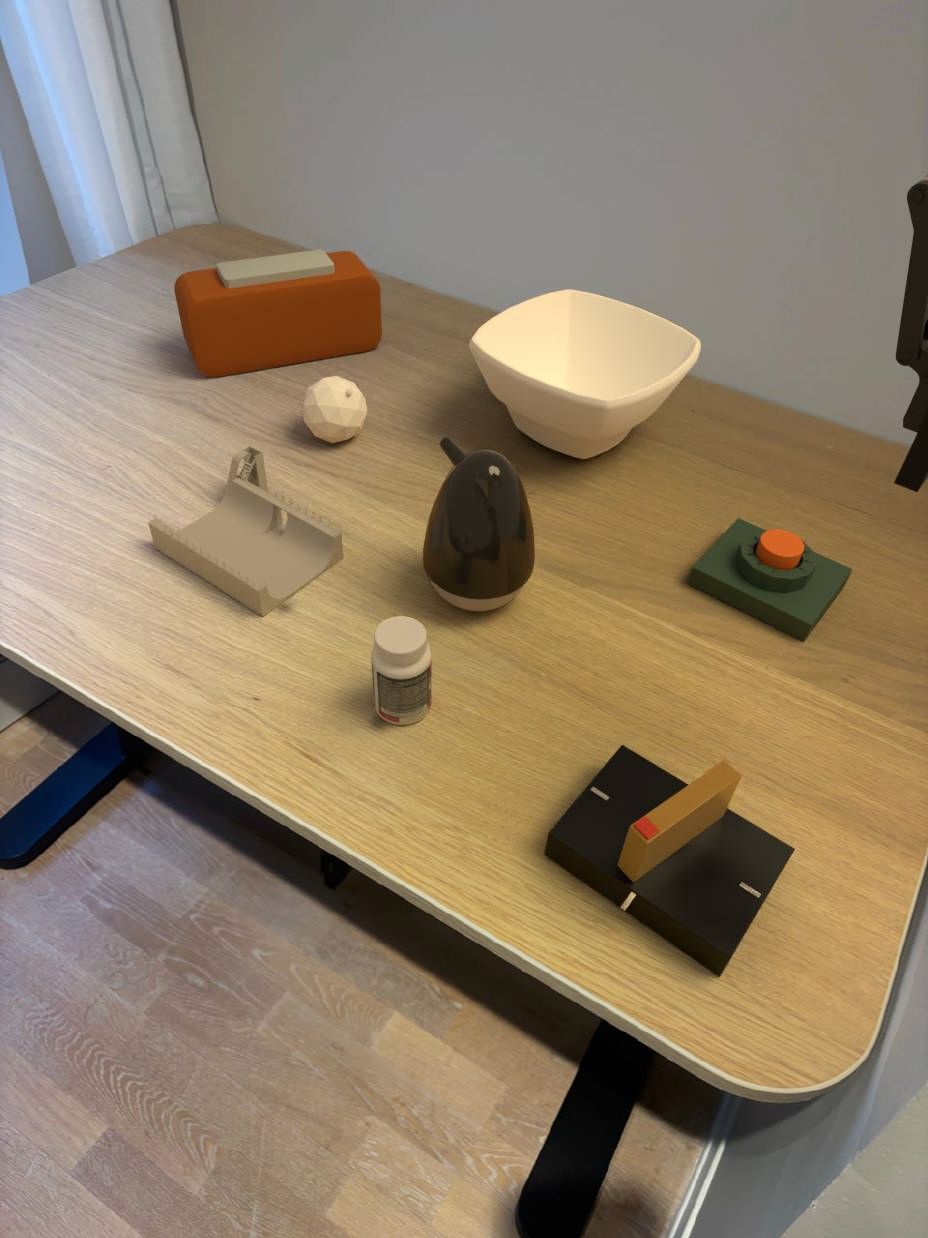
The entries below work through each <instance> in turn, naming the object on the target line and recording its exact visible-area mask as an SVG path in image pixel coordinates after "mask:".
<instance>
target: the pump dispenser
mask: <svg viewBox="0 0 928 1238" xmlns="http://www.w3.org/2000/svg"><path fill="white" fill-rule="evenodd" d="M439 447H440V448H441V449H442V451H443V452H444V454H445V455H446V457H447V458H448V460H449V461H450V463H451V464H452V465H453V466H452V467H451V469H450V470H449V471H448V473H447V475H446V476H445V478H444V480H443V482H442V484H441V486H440V488H439V490H438V492H437V495H436V497H435V499H434V502H433V505H432V508H431V511H430V514H429V517H428V521H427V525H426V529H425V534H424V540H423V547H422V566H423V569H424V572H425V574H426V575H427V577H428V578H429V580H430V583H431V585H432V586H433V588H434V589H435V591H436V592H437V594H438V595H439V596H440V597H441V598H442V599H443V600H445V601H446V602H447V603H449V604H450V605H452V606H454V607H456V608H459V609H462V610H466V611H471V612H487V611H492V610H496V609H498V608H501V607H503V606H505V605H506V604H508V603H509V602H511V601H512V600H514V599H515V598H516V597H517V595H519V594H520V592H521V591H522V589H523V588H524V586H525V585H526V584H527V582H528V581H529V580H530V579H531V576H532V575H533V573H534V568H535V558H536V554H535V553H536V547H535V531H534V523H533V517H532V513H531V508H530V504H529V500H528V496H527V493H526V490H525V487H524V484H523V482H522V479H521V477H520V475H519V473H518V471H517V470H516V468H515V466H514V464H513V463H512V462H511V461H510V460H509V459H508V458H507V457H506V456H505V455H503V454H502V453H501V452H498V451H496V450H493V449H487V448H481V449H480V448H479V449H475V450H472V451H470V452H467V453H466V452H465V451H464V450H462V448H460V447H459V446H458V444H456V442H455V441H454V440H453V439H451V438H450V437H449V436H444V437H442V438H441V439H440V440H439Z"/></svg>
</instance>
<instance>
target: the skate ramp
mask: <svg viewBox="0 0 928 1238" xmlns="http://www.w3.org/2000/svg"><path fill="white" fill-rule="evenodd" d="M242 460H243V463H244V464H242V467H241V468H240V470H239V467H240V463H241V462H242ZM238 471H239V472H238ZM227 477H228V478H227V482H226V487H225V492H224V495H223V498H222V499H221V501H220V503H218V505H217V506H216V507H214V509H212V510H211V511H209V512H208V513H206V514H204V515H202V516H201V517H199V518H197V519H196V520H194V521H192V522H191V523H189V524H188V525H186V526H184V527H183V528H181V529H179V530H177V529H176V528H174V527H172V526H171V525H169V524H167V523H166V522H164V521H162V520H161V519H159V518H157V514H156V513H155V514H153V515H152V518H148V519H149V521H148V522H147V524H148V528H149V531H150V535H151V539H152V542H153V546H154V548H155V549H156V550H157V551H159V552H161V553H162V554H164V555H165V556H167V557H168V558H170V559H172V560H173V561H174V562H176V563H177V564H180V565H181V566H182V567H184V568H186V569H188V570H189V571H190V572H191V573H193V574H195V575H197V576H198V577H200V578H201V579H203V580H204V581H206V582H208V583H209V584H210V585H212V586H214V587H215V588H217V589H219V590H220V591H222V592H223V593H225V594H226V595H228V596H230V597H232V598H233V599H235V600H236V601H238V602H239V603H241V604H242V605H244V606H246V607H247V608H248V609H250V610H252V611H253V612H254V613H256V614H258V615H259V616H261V617H264V616H266V615H267V614H269V613H270V612H271V611H273V610H274V609H276V608H277V607H279V606H280V605H281V604H283V603H284V602H285V601H287V600H288V599H289V598H290V597H292V596H293V595H295V594H296V593H298V592H299V591H300V590H301V589H303V588H305V587H306V586H307V585H309V584H310V583H311V582H313V581H314V580H315V579H316V578H318V577H320V575H322V574H323V573H325V572H326V571H328V570H329V569H330V568H332V567H333V566H334V565H336V564H337V563H338V562H340V561H341V560H343V559H344V548H343V536H342V534H343V533H342V528H341V527H339V528H338V529H336V526H337V524H336V523H334V522H333V521H330V520H329V521H328V519H327V518H325V517H323V516H321V515H320V514H319V513H316V512H314V511H312V510H311V509H309V508H307V507H305V506H303V505H302V504H299V503H298V502H296V501H294V502H293V501H292V499H291V498H289V497H287V496H285V495H283V494H282V493H280V492H278V491H275V492H274V491H271V490H272V488H271V487H269V486H268V480H267V474H266V466H265V459H264V452H262V451H261V450H259V449H257V448H255V447H253V446H251V445H248V446H247V447H245V448H243V449H241V450H239V451H237V452H235V454H234V455H233V456H232V458H231V462H230V467H229V473H228V476H227ZM278 494H279V495H278ZM280 495H281V496H280ZM281 498H282V499H281ZM283 498H284V499H283ZM285 498H286V499H285ZM296 506H297V507H296ZM298 507H300V508H298ZM301 509H302V510H301ZM282 511H284V512H285V513H286V524H285V523H284V521H283V513H282ZM309 512H312V513H311V515H310V514H309ZM322 518H323V519H322ZM324 519H325V520H324ZM323 521H324V522H323ZM325 522H326V523H327V524H326V523H325ZM331 523H332V524H334V525H332V524H331Z"/></svg>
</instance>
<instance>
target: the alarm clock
mask: <svg viewBox="0 0 928 1238" xmlns="http://www.w3.org/2000/svg"><path fill="white" fill-rule="evenodd" d="M215 266H216V267H213V268H205V269H198V270H189V271H187V272H183V273H181V274H180V275H179V276H178V277H177V278H176V279H175V282H174V285H173V286H174V287H173V289H174V290H173V291H174V296H175V301H176V306H177V310H178V316H179V320H180V325H181V330H182V331H181V332H182V336H183V339H184V341H185V343H186V345H187V348H188V350H189V352H190V354H191V356H192V360H193V361H194V364H195V366H196V368H197V370H198V371H199V372H200V373H201V374H202V375H203V376H206V377H208V378H220V377H221V378H222V377H226V376H232V375H237V374H244V373H249V372H255V371H260V370H267V369H272V368H279V367H284V366H289V365H290V366H291V365H296V364H302V363H307V362H313V361H318V360H319V361H320V360H324V359H330V358H336V357H343V356H347V355H353V354H359V353H365V352H369V351H372V350H374V349H375V348H376V347H378V345H379V344H380V343H381V340H382V334H383V332H382V331H383V330H382V329H383V328H382V299H381V298H382V294H381V292H382V291H381V285H380V282H379V280H378V279H377V278H376V276H375V275H374V274H373V273H372V272H371V271H370V269H369V268H368V267H367V266H366V264H364V262H363V261H362V260H361V259H360V257H359V256H358V255H357V254H356V253H354V252H353V251H351V250H338V251H332V252H326V251H325V250H324V249H321V248H320V249H313V250H305V251H298V252H290V253H282V254H276V255H267V256H261V257H253V258H246V259H239V260H237V259H236V260H231V261H222V262H217V263H216V265H215Z"/></svg>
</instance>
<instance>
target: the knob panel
mask: <svg viewBox="0 0 928 1238" xmlns="http://www.w3.org/2000/svg"><path fill="white" fill-rule="evenodd" d="M688 785H689V784H688V783H687V782H685V781H684V780H682V779H680V778H678V777H677V776H676V775H674V774H672V773H670V772H669V771H667V770H665V769H663V768H662V767H661V766H659V765H657V764H655V763H654V762H652V761H650V760H649V759H647V758H645V757H644V756H642V755H641V754H639V753H638V752H635V751H634V750H633V749H630V748H629V747H628V746H625V745H624V744H621V745H620V746H619V747H618V748H617V749H616V751H615V752H614V753H613V754H612V756H611V757H610V758H609V760H608V761H607V762H606V763H605V764H604V766H603V767H602V768H601V769H600V770H599V771H598V772H597V774H596V775H595V776H594V777H593V779H592V780H591V781H590V782H589V783H588V784H587V786H586V787H585V788H584V789H583V790H582V792H581V793H580V794H579V795H578V796H577V798H576V799H575V800H574V801H573V803H571V805H570V806H569V807H568V809H567V810H566V811H565V812H564V813H563V814H562V816H561V817H560V818H559V819H558V820H557V822H556V823H555V824H554V825H553V827H551V829H550V830H549V831H548V833H547V837H546V842H545V847H544V852H543V855H544V856H545V857H546V858H547V859H549V860H550V861H552V862H553V863H555V864H557V865H558V866H559V867H560V868H562V869H563V870H565V871H566V872H567V873H569V874H571V875H572V876H573V877H575V878H576V879H577V880H579V881H580V882H582V883H583V884H585V885H586V886H588V887H589V888H591V889H592V890H593V891H595V892H596V893H598V894H599V895H600V896H602V897H604V898H605V899H606V900H608V901H609V902H611V903H612V904H614V905H615V906H616V907H618V908H619V909H621V910H622V911H623V912H625V913H626V914H628V915H629V916H631V917H632V918H633V919H635V920H637V921H638V922H639V923H641V924H642V925H643V926H645V927H647V928H648V929H649V930H651V931H652V932H654V933H655V934H656V935H658V936H659V937H661V938H662V939H664V940H665V941H667V943H670V944H671V945H672V946H674V947H675V948H676V949H678V950H679V951H681V952H682V953H684V954H685V955H686V956H688V957H689V958H691V959H692V960H694V961H695V962H696V963H698V964H699V965H701V966H702V967H704V968H705V969H707V970H708V971H710V972H711V973H712V974H714V975H715V976H717V977H718V978H720V977H721V976H722V975H723V973H724V971H725V969H726V968H727V966H728V964H729V962H730V961H731V959H732V957H733V955H734V954H735V953H736V951H737V949H738V948H739V946H740V944H741V942H742V940H743V939H744V937H745V936H746V933H747V932H748V930H749V929H750V927H751V925H752V923H753V922H754V920H755V918H756V917H757V915H758V913H759V911H760V910H761V908H762V906H763V904H764V903H765V901H766V900H767V898H768V896H769V895H770V893H771V891H772V890H773V888H774V886H775V885H776V882H777V881H778V880H779V878H780V876H781V875H782V872H783V871H784V869H785V867H786V865H787V864H788V862H789V860H790V859H791V857H792V855H793V853H794V852H795V850H796V849H795V847H793V846H791V845H790V844H788V843H786V842H784V841H783V840H781V839H780V838H778V837H776V836H775V835H774V834H771V833H769V832H768V831H766V830H765V829H763V828H761V827H759V826H758V825H757V824H755V823H753V822H751V821H750V820H748V819H746V818H745V817H743V816H741V815H740V814H738V813H737V812H735V811H733V810H731V809H730V808H728V807H727V809H726V811H725V814H724V816H723V817H722V818H720V819H719V820H718V821H716V822H715V823H714V824H712V825H711V826H710V827H708V828H707V829H705V830H704V831H703V832H701V833H700V834H699V835H697V836H696V837H695V838H693V839H692V840H691V841H689V842H688V843H687V844H685V845H684V846H682V847H681V848H680V849H678V850H677V851H676V852H674V853H673V854H672V855H670V856H669V857H668V858H666V859H665V860H664V861H662V862H661V863H660V864H658V865H657V866H655V867H654V868H653V869H651V870H650V871H649V872H647V873H646V874H645V875H643V876H642V877H641V878H639V879H638V880H637V881H635V882H632V881H631V880H630V879H629V878H628V876H627V875H626V874H625V873H624V872H623V871H622V870H621V869H620V868H619V867H618V862H619V859H620V855H621V852H622V849H623V846H624V843H625V840H626V837H627V833H628V830H629V827H630V825H632V824H633V823H635V822H636V821H638V820H639V819H640V818H642V817H643V816H645V815H646V814H648V813H649V812H650V811H652V810H653V809H655V808H656V807H658V806H659V805H660V804H662V803H663V802H665V801H666V800H668V799H669V798H671V797H672V796H673V795H675V794H676V793H678V792H679V791H681V790H682V789H683V788H685V787H686V786H688Z"/></svg>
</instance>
